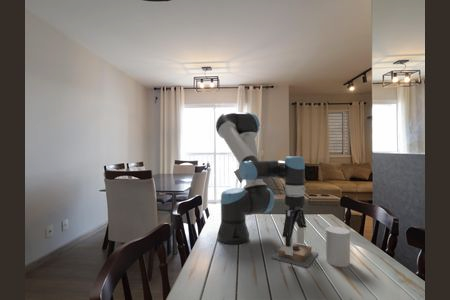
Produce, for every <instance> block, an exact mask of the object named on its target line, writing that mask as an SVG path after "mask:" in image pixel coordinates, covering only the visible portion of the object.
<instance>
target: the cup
mask: <svg viewBox="0 0 450 300" xmlns="http://www.w3.org/2000/svg"><path fill="white" fill-rule="evenodd" d="M350 233H351V232H350V230H349V229H347V228H345V227H339V226H328V227H326V228H325V261H326V262H327V263H328V264H329V265H331V266H333V267H340V268H346V267H349V266H350V264H351V258H350V257H351V256H350V255H351V254H350V253H351V251H350V250H351V240H350V238H351V237H350V235H351V234H350Z"/></svg>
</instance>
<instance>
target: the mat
mask: <svg viewBox="0 0 450 300" xmlns="http://www.w3.org/2000/svg"><path fill="white" fill-rule="evenodd" d="M318 254H319V252H317V251H313V250H312V253H311V254H310V256H309V257H308V258H307V259H306V261H305V262H300V261H296V260H292V259H288V258H284V257H280V256H278V251H277V252H275V253H273V255H272V256H271V259H273V260H276V261H279V262H280V261H281V262H285V263H289V264H293V265H296V266H300V267H304V268H307V269H308V268H309V267H310V265H312V262H314V260H315V259H316V258H317V256H318Z"/></svg>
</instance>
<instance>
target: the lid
mask: <svg viewBox="0 0 450 300" xmlns="http://www.w3.org/2000/svg"><path fill="white" fill-rule="evenodd" d="M312 251H313V250H312V246H308V245H305V244H300V243H293V255H292V256H291V255H287V254H285V244H283V245H282V246H281V247H280V248H279V249H278V251H277V252H278V256H280V257H284V258H288V259H292V260H296V261H300V262H305V261H306V259H307V258H308V257H309V256H310V254H311V253H312Z"/></svg>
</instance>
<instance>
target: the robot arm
mask: <svg viewBox="0 0 450 300" xmlns="http://www.w3.org/2000/svg"><path fill="white" fill-rule="evenodd" d="M215 130H216V132H217V134H218V135H219V137H220V138H222V139H223V140H224V141H225V143H226V145H227V147H228V148H229V149H230V151H231V152H232V155H233V156H234V157H235V159H236V161H237V162H238V163H239V165H238V173H239V175H238V176H239V177H240V178H241V179H242V180H245V183H246V185H245V186H244V187H243V188H242V187H237V188H235V187H234V188H229V189H225V190H223V192H222V193H221V194H220V217H221V218H220V220H221V221H220V225H219V228H218V232H217V240H218V242H220V243H223V244H226V245H240V244H244V243H247V242H249V241H250V232H249V229H248V226H247V221H246V220H247V219H246V216H251V215H257V214H261V215H262V214H265V213H269V212H270V211H272V209H273V207H274V204H275V195H274V192H273V191H272V189H270V188H268V185H267V183H266V182H264V179H265V180H266V179H267V180H268V179H284V181H285V182H284V193H285V197H284V199H285V200H284V204H285V206H288V207H289V209H285V218H284V223H283V231H282V237H283V238H284V245H285V254H287V255H291V256H292V255H293V242H294V238H293V237H292V236H293V232H294V228H295V225H296V224H297V227H296V242H297V243H296V244H300V245H305V229H306V228H307V224H306V216H305V210H304V206H305V204H306V203H305V202H306V197H305V192H306V190H307V188H306V187H305V185H306V184H305V181H306V180H305V176H306V175H305V173H306V171H305V168H306V166H305V164H306V163H305V158H304V157H303V156H297V155H296V156H295V155H294V156H292V155H291V156H290V155H289V156H285V158H284V160H279V159H272V160H260V158H259V153H258V149H257V148H258V147H257V144H256V143H257V142H256V137H257V135H258V133H259V131H260V121H259V118H258V116H257V115H256V114H254V113H251V112H237V111H236V112H235V111H227V112H224V113H222V114H221V115H220V116H219V117H218V118H217V120H216V123H215Z"/></svg>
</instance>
